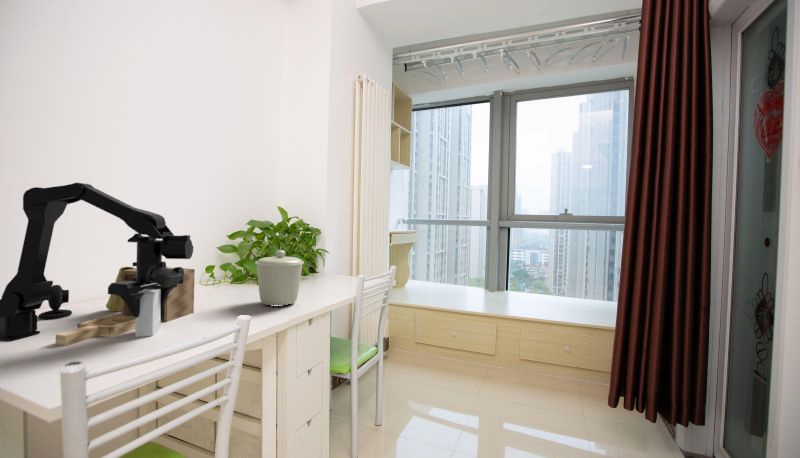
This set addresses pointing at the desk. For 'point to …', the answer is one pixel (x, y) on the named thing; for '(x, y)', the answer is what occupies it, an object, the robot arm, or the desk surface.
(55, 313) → the webcam
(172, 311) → the wooden open box
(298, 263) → the canister
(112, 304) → the vase
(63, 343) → the wooden tray with handle
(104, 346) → the desk surface
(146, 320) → the skincare box
